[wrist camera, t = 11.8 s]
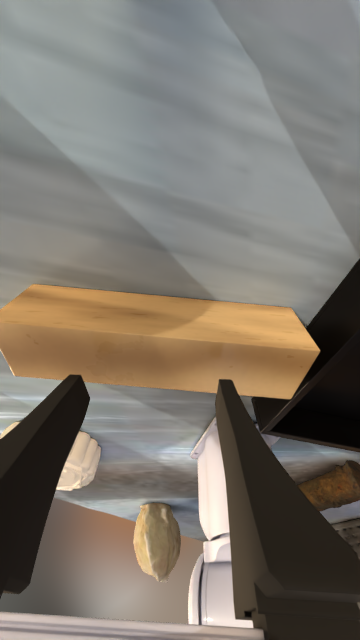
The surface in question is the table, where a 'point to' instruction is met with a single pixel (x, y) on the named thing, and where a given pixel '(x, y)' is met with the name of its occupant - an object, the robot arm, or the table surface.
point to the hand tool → (334, 487)
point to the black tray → (325, 379)
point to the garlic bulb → (157, 540)
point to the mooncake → (76, 461)
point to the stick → (155, 341)
